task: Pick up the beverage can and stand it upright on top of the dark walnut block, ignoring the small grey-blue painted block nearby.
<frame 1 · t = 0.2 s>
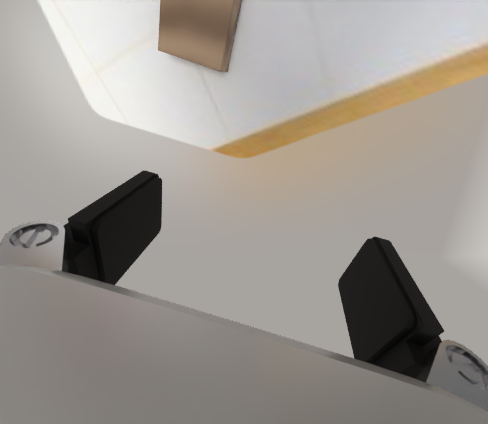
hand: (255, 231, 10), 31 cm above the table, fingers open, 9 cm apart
walnut block: (204, 25, 31), on the table
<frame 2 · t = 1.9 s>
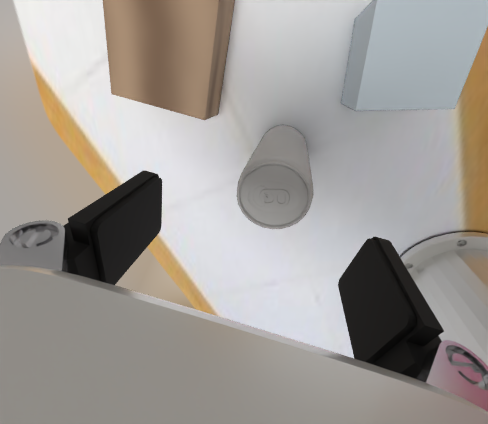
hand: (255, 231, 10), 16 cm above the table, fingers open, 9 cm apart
walnut block: (180, 51, 21), on the table
beverage can: (282, 147, 24), on the table
grey-blue block: (385, 62, 19), on the table
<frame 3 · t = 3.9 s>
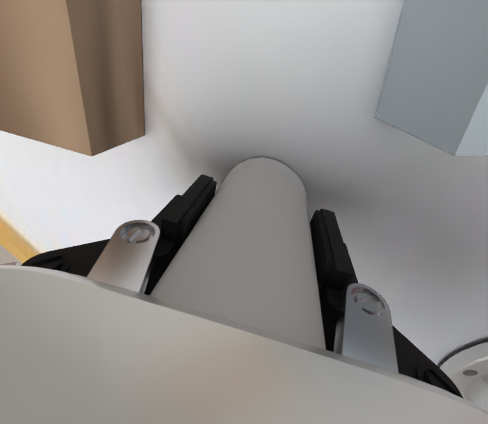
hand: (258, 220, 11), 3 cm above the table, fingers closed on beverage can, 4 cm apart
walnut block: (51, 13, 10), on the table
beverage can: (264, 192, 13), on the table, touching gripper
grey-blue block: (483, 29, 8), on the table
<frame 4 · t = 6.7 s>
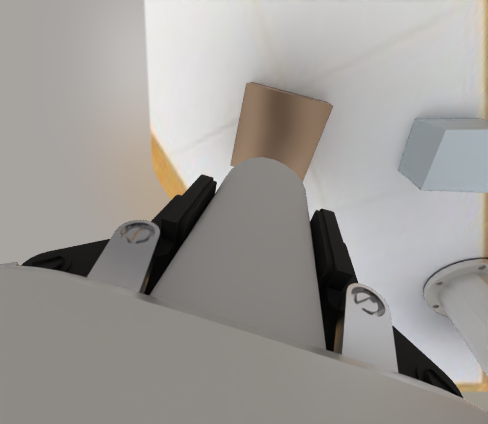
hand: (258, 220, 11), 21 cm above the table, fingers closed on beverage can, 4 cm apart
walnut block: (278, 131, 28), on the table
beverage can: (264, 192, 13), point 18 cm above the table, touching gripper
grey-blue block: (434, 146, 26), on the table
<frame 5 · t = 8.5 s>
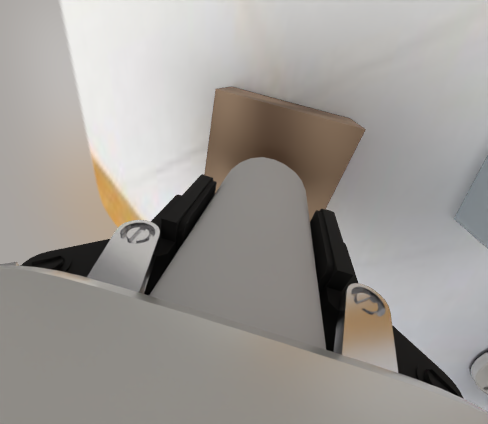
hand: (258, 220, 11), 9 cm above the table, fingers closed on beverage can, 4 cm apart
walnut block: (272, 160, 19), on the table
beverage can: (264, 192, 13), point 6 cm above the table, touching gripper
when the fingers open (8 cm above the table, at t = 9.7 s): beverage can stays where it is, resting on walnut block.
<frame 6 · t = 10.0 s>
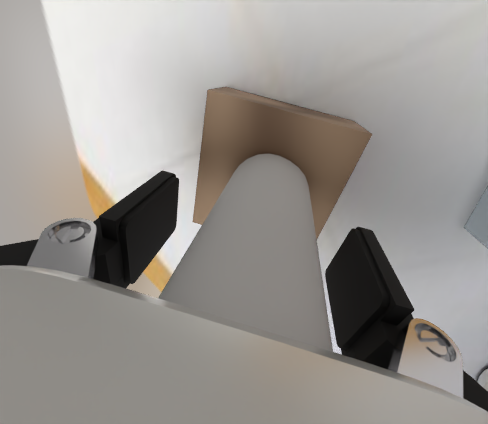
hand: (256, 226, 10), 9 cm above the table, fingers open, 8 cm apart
walnut block: (270, 165, 18), on the table
beverage can: (269, 186, 14), point 4 cm above the table, touching walnut block
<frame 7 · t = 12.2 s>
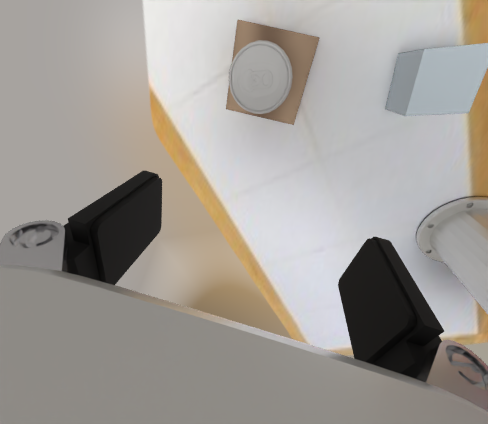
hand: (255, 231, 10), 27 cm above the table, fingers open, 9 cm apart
walnut block: (270, 76, 30), on the table
beverage can: (269, 77, 26), point 4 cm above the table, touching walnut block
grey-blue block: (417, 80, 27), on the table
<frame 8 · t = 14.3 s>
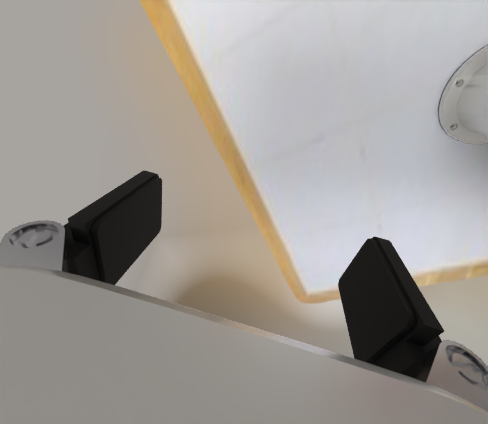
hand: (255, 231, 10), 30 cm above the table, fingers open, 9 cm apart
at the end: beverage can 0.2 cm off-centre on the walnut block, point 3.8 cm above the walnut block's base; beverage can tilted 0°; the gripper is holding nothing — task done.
